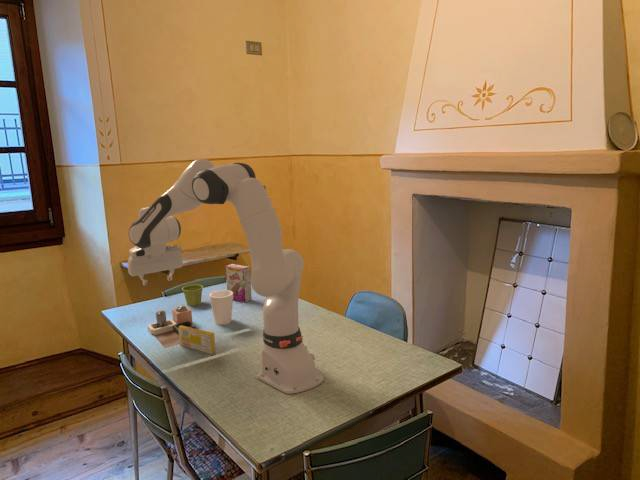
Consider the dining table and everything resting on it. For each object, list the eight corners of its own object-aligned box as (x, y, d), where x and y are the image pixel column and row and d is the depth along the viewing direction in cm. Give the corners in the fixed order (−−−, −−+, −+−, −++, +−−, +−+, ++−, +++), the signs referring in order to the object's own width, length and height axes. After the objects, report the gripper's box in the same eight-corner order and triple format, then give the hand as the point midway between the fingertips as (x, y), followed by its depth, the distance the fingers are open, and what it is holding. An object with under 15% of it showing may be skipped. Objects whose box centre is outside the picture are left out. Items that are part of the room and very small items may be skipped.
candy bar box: (227, 299, 223) (224, 265, 219) (234, 296, 227) (232, 263, 223) (245, 303, 217) (243, 268, 213) (252, 299, 221) (250, 266, 217)
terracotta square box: (192, 324, 191) (191, 310, 190) (178, 328, 188) (176, 313, 187) (187, 319, 196) (186, 306, 195) (173, 323, 193) (171, 309, 191)
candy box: (216, 354, 167) (214, 332, 165) (212, 357, 165) (210, 334, 163) (183, 345, 175) (181, 324, 173) (179, 347, 173) (177, 326, 171)
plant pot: (181, 304, 218) (180, 286, 216) (202, 300, 222) (200, 283, 220) (185, 310, 210) (183, 292, 208) (206, 306, 214) (205, 288, 212)
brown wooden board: (207, 338, 179) (206, 331, 179) (164, 350, 171) (164, 342, 170) (187, 321, 197) (186, 314, 196) (148, 330, 188) (147, 323, 188)
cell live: (168, 329, 187) (166, 311, 185) (159, 331, 185) (157, 313, 183) (165, 326, 190) (163, 309, 188) (156, 328, 188) (154, 311, 186)
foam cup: (237, 319, 197) (235, 290, 195) (231, 328, 188) (229, 297, 186) (215, 319, 198) (213, 290, 196) (208, 328, 189) (206, 297, 187)
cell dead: (188, 324, 191) (187, 306, 190) (180, 326, 190) (178, 308, 188) (185, 321, 194) (184, 304, 193) (177, 323, 192) (175, 306, 191)
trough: (178, 329, 187) (177, 324, 186) (152, 335, 181) (151, 330, 181) (172, 323, 193) (171, 318, 193) (147, 329, 188) (146, 324, 187)
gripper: (178, 242, 188) (181, 275, 191) (124, 250, 177) (128, 285, 180) (183, 245, 183) (186, 279, 186) (128, 253, 172) (132, 289, 175)
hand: (157, 282), depth 183 cm, fingers open, 8 cm apart
